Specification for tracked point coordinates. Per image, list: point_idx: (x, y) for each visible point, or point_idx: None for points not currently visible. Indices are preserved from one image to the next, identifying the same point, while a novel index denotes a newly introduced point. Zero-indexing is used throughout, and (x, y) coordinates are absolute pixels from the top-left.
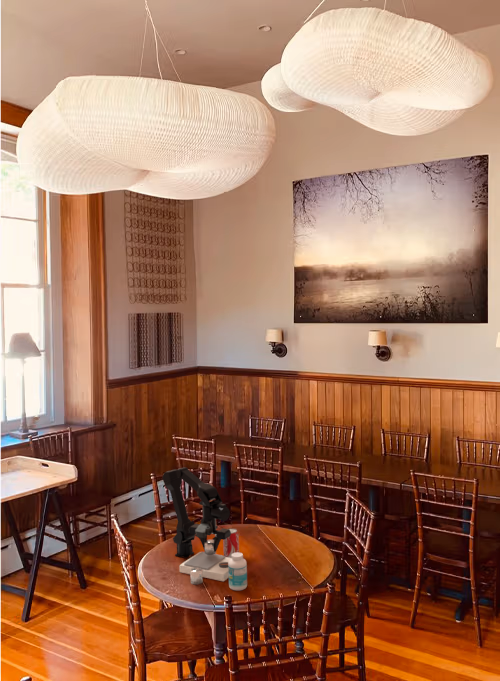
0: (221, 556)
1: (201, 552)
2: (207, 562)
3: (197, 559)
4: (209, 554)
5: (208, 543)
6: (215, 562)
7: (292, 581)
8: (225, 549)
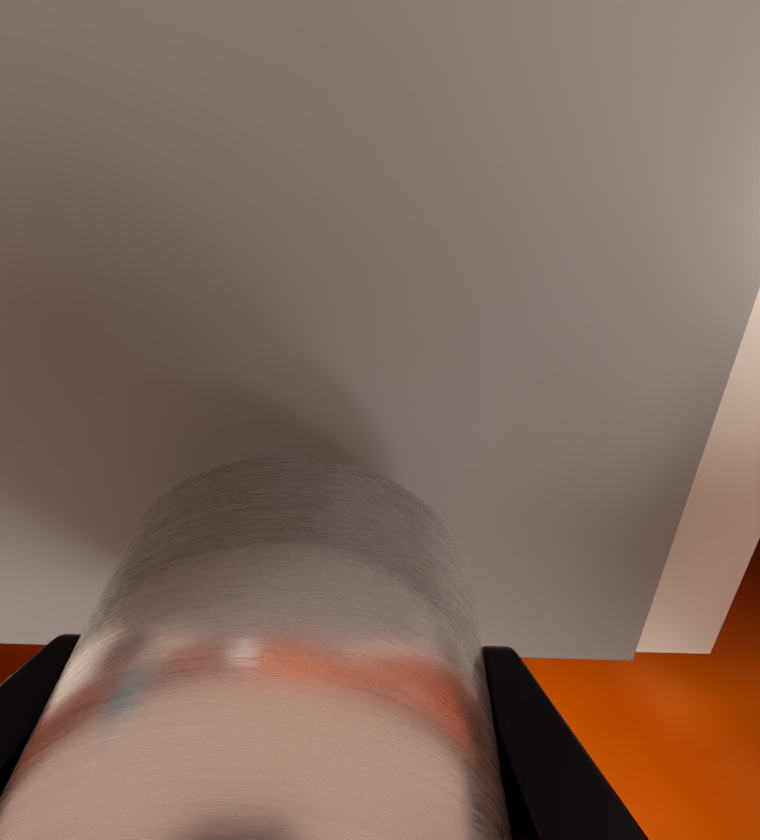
0: (34, 596)
1: (634, 619)
2: (65, 79)
3: (559, 183)
4: (207, 480)
5: None
6: None
7: None
8: None
